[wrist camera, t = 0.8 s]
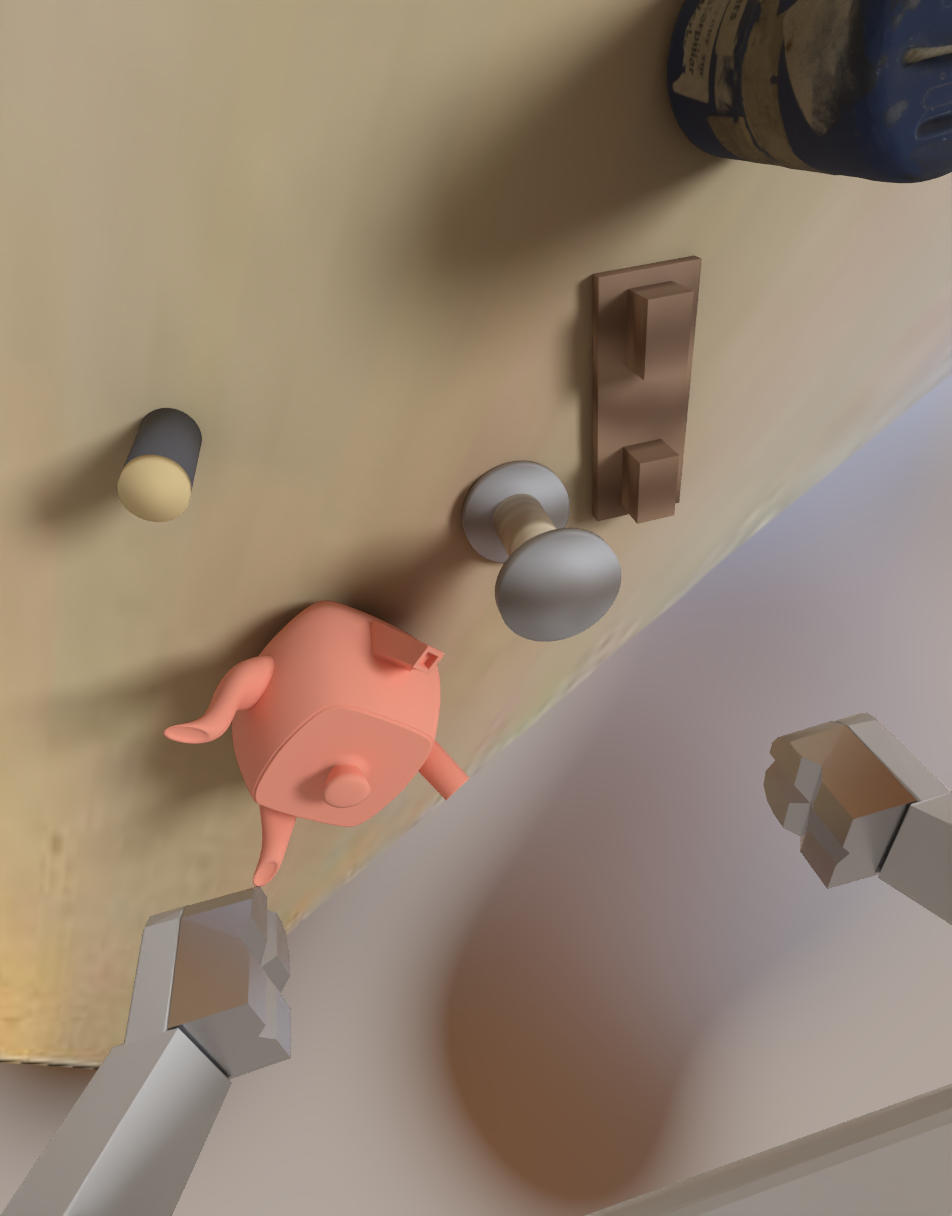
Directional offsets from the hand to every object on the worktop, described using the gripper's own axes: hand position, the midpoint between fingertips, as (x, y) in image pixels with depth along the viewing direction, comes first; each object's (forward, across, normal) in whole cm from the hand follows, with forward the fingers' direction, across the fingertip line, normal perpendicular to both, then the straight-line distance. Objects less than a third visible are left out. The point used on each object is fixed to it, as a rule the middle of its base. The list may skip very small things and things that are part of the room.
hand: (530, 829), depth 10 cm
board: (+38, -19, +10) cm, 44 cm away
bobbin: (+39, -9, +17) cm, 43 cm away
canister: (+38, -25, -9) cm, 46 cm away
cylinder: (+38, +12, +6) cm, 41 cm away
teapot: (+39, +8, +28) cm, 49 cm away
